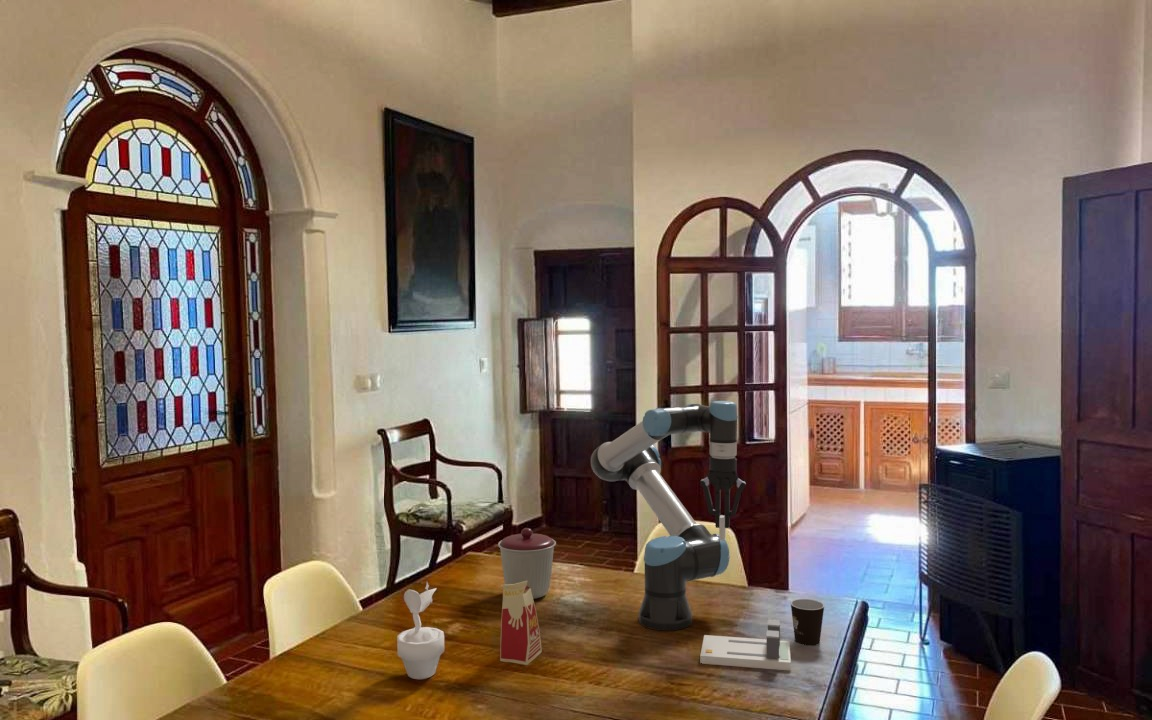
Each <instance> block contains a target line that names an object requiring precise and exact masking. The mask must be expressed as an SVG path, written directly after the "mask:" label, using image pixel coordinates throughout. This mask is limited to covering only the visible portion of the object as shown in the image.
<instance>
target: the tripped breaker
mask: <svg viewBox="0 0 1152 720" xmlns="http://www.w3.org/2000/svg"><path fill="white" fill-rule="evenodd" d="M766 639H767V658H779V631H771V630H768V629H767V630H766Z"/></svg>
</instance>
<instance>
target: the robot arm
mask: <svg viewBox="0 0 1152 720" xmlns="http://www.w3.org/2000/svg"><path fill="white" fill-rule="evenodd" d="M737 408H738V407H737V404H736V402H734V401H730V400H729V401H727V400H714V401H711V402H710V404H709V406H708V405H702V404H700V403H688V404H686V405H685V406H676V407H675V406H674V407H672V406H671V407H656V408H652V409H649V410H646V412H644V416H643V417H642V421H640V422H639V423H637V424H636V425H635V426H633V427H631V428H629V429H628V430H627V431H625V432H624V433H623V434H621V435H620V436H619V437H617V438H615V439H614V440H612V441H606V442H603V443H602V444H600V445H598V447H596V449H594V451H593V452H592V454H591V456H590V467H591V470H592V472H593V473H594V474H595V475H596V476H597V477H598V478H599V479H601V480H603V481H607V482H616V481H617V482H619V481H625V482H627V484H628V485H629V487H630V488H631V489H632V490H636V491H639V493H640V494H641V496H642V498H643V499H644V501H646V503H647V504H648V506H649V507H650V509H651V510H652V511H653V513H654V514H655V515H656V517H657V518H658V520H659V521H660V523H661V525H662V526H663V527H664V528H665V530H666V531H667V533H668V535H669V536H666V535H664V536H659V537H655V538H653V539H651V540H649V541H648V542H647V543H646V544H645V547H644V555H643V563H644V595H643V599H642V602H641V604H640V608H639V611H638V622H639V624H640V625H641V626H643V627H644V628H648V629H651V630H656V631H679V630H683V629H687V628H688V627H690V626H691V625H692V624H693V614H692V611H691V607H690V603H689V601H688V598H687V594H686V590H687V589H686V588H687V585H686V583H688V582H691V581H696V580H701V579H705V578H713V577H715V576H718V575H721V574H723V573H724V572H726V570H727V569H728V566H729V564H730V557H731V556H730V547H729V545H728V543H727V540H726V529H729V528H730V522H731V521H730V518H731V517H732V516H736V513H737V511H738V507H739V503H740V498H741V495H742V491H743V490H744V489H745V487H746V484H747V483H746V481H745V480H744V481H743V480H742V479H740V478H739V475H738V471H737V470H738V469H737V464H738V463H737V461H738V459H737V458H736V456H737V452H738V451H737V449H738V440H737V438H738V437H737V436H738V434H737V433H738V409H737ZM698 432H703V433H706V434H709V455H710V456H709V468H708V469H709V471H708V474H707V475H706V477H705V478H701V480H700V481H699V484H700V486H701V488H702V489H703V493H704V497H705V502H706V506H707V511H708V513H709V515H712V516H714V519H715V521H714V523H715V528H718V529H719V530H718V531H719V532H718V533H719V534H717V533H711V532H710V530H708V528H707V527H706V526H705V525H704V524H701V523H697V522H696V521H695V519H694V518H693V517H692V515H691V514H690V513H689V511H688V510H687V508H686V507H685V506H684V505H683V503H682V502H681V500H680V499H679V498H678V497H677V495H676V493H675V492H674V491H673V490H672V488H671V487H670V485H669V484H668V483H667V481H665V479H664V477H663V476H662V475H661V472H662V459H661V458H660V456H661V455H660V452H659V451H658V449H657V448H656V447H655V446H654V445H656V443H658V442H660V441H661V440H663V439H664V438H666V437H668V436H671V435H676V434H687V433H698ZM710 484H711V485H712V487H713V488H714V489H715V492H714V493H715V497H714V499H715V504H713V501H712V495H711V493H710V492H711V491H710V486H709V485H710ZM735 484H736V487H737V489H736V490H737V491H736V494H735V497H734V500H733V505H732V509H731V498H730V497H731V489H732V488H733V486H734V485H735ZM722 490H723V491H724V515H723V514H721V512H722V511H721V508H722V507H721V503H722V502H721V499H722V498H721V496H722V495H721V493H722ZM714 505H715V506H714ZM714 507H715V509H714ZM730 509H731V510H730Z"/></svg>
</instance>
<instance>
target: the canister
mask: <svg viewBox="0 0 1152 720" xmlns="http://www.w3.org/2000/svg"><path fill="white" fill-rule="evenodd" d="M556 545H557V541H556V540H554V539H553V538H551V537H549V536H548V535H546V534H542V533H534V532H533V530H532V528H530V527H524V528H523V529H522V530H521V532H520V533H517V534H511V535H509V536H506V537H504V538H503V539H501V540H500V541H498V544H497V546H498V548H500V557H501V558H500V559H501V566H502V575H503V580H504V585H507V584H516V583H520V582H524V581H527V580H528V581H527V586H528V587H530V588H531V592H532V596H533V600H536V599H539V598H542V597H544V596H546V595H547V594H548V592H549V590H550V586H551V579H552V571H553V561H554V560H553V558H554V550H555V548H554V547H555V546H556Z"/></svg>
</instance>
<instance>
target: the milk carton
mask: <svg viewBox="0 0 1152 720" xmlns="http://www.w3.org/2000/svg"><path fill="white" fill-rule="evenodd" d="M527 581H528V580H527ZM527 581H524V582H520V583H516V584H507V585H505V584H500V587H501V588H502V606H501V607H502V608H501V621H500V640H499V641H500V646H499V648H500V652H499V653H500V654H499V661H500V662H504V663H512V664H513V663H514V664H519V665H523V666H528V665H529V664H530V663H531V662H532V661H534V660H535V659H536V658H537V657H538V656H539V655H540V654H541V653H542V651H543V650H542V642H541V641H542V640H541V633H540V632H541V631H540V625H539V621H538V620H539V619H538V614H537V609H536V604H535V601H534V600H535V599H533V596H532V592H531V588H530V587H528V586H527Z"/></svg>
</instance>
